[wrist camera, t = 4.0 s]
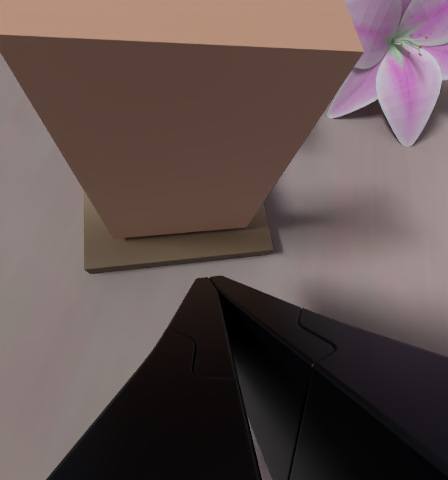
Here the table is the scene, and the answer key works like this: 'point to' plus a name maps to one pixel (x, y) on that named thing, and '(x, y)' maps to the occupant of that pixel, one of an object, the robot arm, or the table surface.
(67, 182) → the table surface
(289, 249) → the table surface
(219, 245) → the tan board
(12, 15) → the salmon pink upright block
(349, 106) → the lily
